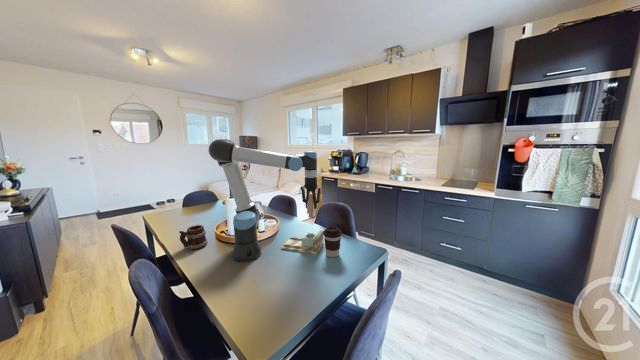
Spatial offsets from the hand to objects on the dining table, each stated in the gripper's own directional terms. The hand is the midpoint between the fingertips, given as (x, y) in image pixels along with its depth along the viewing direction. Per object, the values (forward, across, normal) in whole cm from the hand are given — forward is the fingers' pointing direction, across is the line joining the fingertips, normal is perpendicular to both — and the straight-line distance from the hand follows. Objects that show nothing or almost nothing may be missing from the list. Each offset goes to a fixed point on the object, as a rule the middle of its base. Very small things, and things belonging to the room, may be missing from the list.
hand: (311, 213), depth 137 cm
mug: (+18, -64, -30) cm, 73 cm away
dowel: (+3, 0, 0) cm, 3 cm away
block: (+16, +3, -11) cm, 19 cm away
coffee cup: (+17, +18, -16) cm, 29 cm away
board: (+17, -2, -11) cm, 20 cm away
